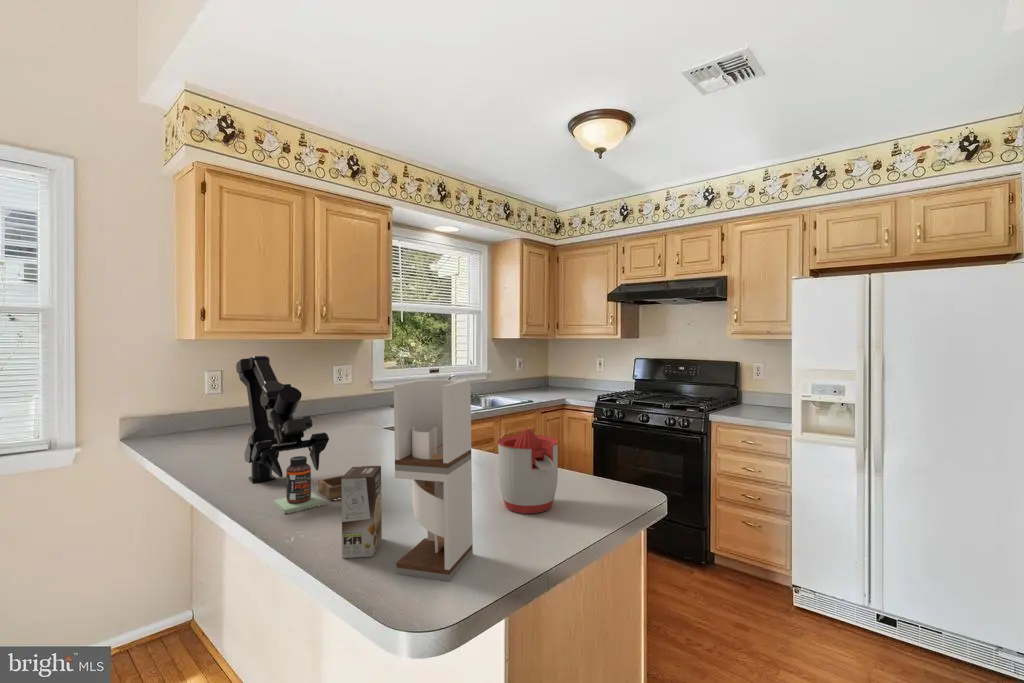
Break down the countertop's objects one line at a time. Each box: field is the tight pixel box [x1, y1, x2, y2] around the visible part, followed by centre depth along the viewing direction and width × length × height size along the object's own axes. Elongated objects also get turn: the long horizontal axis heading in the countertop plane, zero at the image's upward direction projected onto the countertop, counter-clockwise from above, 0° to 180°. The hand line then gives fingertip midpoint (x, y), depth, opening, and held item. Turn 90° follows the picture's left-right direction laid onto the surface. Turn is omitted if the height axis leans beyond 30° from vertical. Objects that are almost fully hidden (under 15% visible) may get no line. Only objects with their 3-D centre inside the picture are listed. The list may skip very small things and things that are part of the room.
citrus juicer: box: [497, 428, 559, 515], centre depth 125 cm, size 16×17×20 cm
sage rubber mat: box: [273, 491, 326, 515], centre depth 129 cm, size 10×10×1 cm
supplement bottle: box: [285, 455, 312, 503], centre depth 129 cm, size 6×6×11 cm
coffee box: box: [341, 465, 383, 559], centre depth 102 cm, size 9×6×16 cm
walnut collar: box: [317, 474, 345, 502], centre depth 138 cm, size 10×10×4 cm
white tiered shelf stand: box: [393, 378, 474, 582], centre depth 94 cm, size 11×11×35 cm
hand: (300, 472), depth 128 cm, fingers open, 9 cm apart
